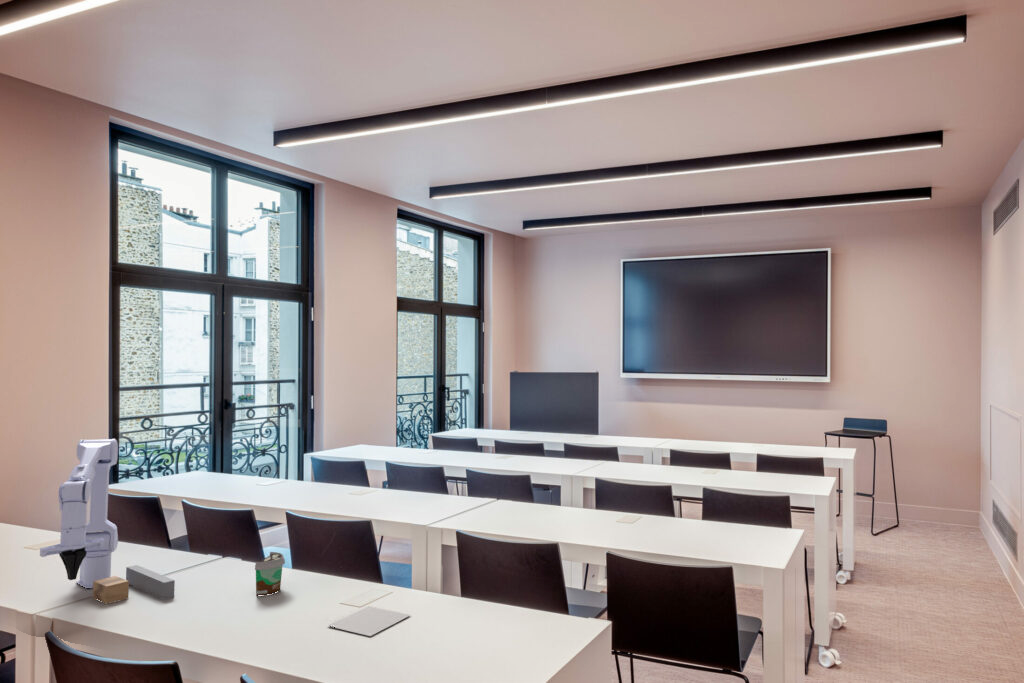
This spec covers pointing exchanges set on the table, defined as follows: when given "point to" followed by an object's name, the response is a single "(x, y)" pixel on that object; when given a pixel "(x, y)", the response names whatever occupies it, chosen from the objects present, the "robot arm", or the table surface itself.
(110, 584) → the tan block
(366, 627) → the grey flat panel
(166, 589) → the gray rectangular bar
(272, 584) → the food container
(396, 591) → the table surface
